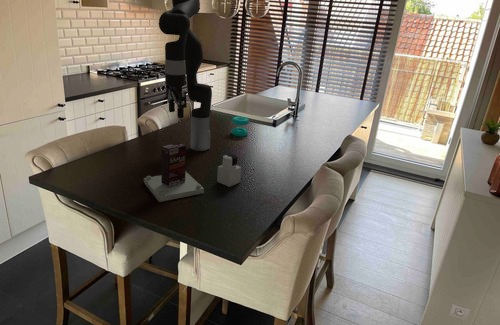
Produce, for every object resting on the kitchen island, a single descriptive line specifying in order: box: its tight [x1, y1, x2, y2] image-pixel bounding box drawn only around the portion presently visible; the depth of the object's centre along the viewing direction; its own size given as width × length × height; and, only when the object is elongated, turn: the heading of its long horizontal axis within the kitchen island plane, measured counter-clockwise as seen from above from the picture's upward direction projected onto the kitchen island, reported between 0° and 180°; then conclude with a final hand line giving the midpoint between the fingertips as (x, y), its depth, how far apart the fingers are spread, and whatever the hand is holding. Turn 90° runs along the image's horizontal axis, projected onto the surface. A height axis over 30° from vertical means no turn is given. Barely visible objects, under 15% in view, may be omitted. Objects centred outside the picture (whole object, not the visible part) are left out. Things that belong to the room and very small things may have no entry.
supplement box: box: [160, 142, 187, 188], centre depth 141 cm, size 9×5×16 cm, turn 140°
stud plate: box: [143, 171, 205, 203], centre depth 144 cm, size 18×18×3 cm
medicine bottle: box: [216, 153, 242, 188], centre depth 151 cm, size 7×7×12 cm
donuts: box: [230, 116, 250, 138], centre depth 214 cm, size 10×10×10 cm
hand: (176, 114), depth 140 cm, fingers open, 8 cm apart
